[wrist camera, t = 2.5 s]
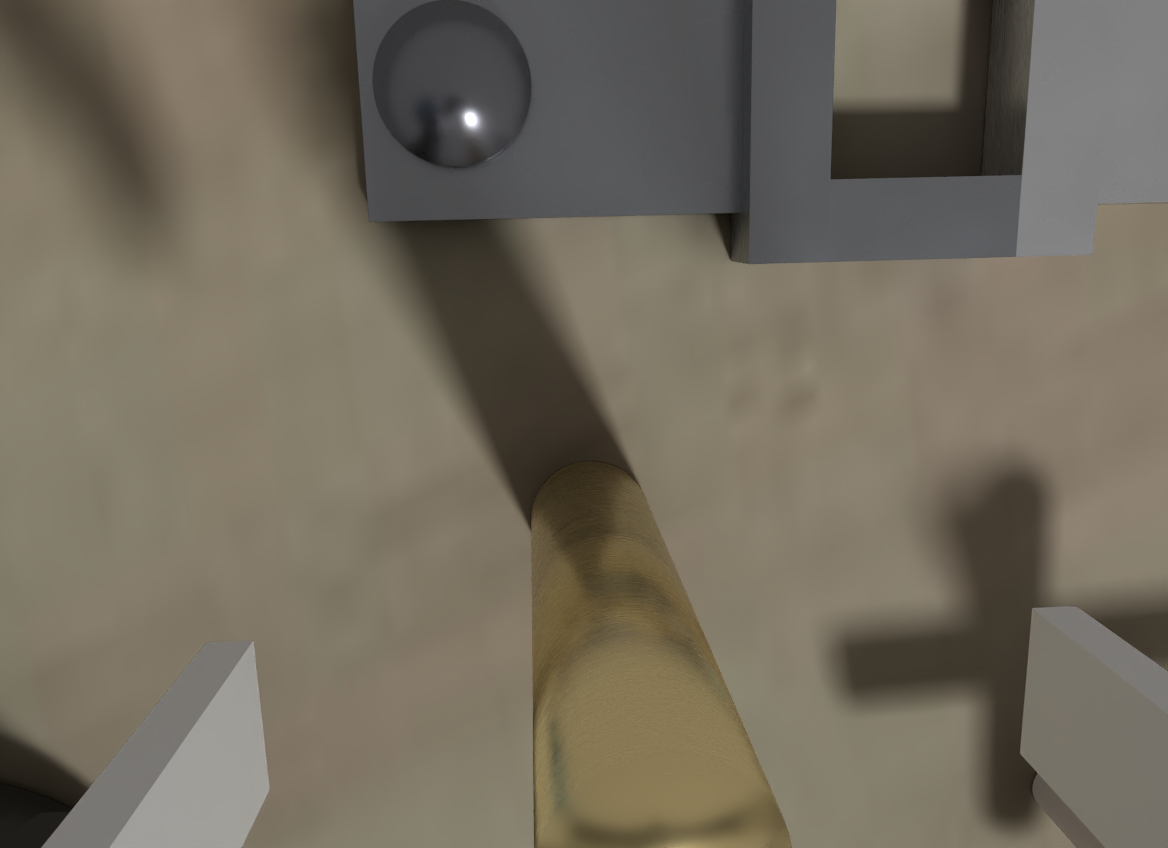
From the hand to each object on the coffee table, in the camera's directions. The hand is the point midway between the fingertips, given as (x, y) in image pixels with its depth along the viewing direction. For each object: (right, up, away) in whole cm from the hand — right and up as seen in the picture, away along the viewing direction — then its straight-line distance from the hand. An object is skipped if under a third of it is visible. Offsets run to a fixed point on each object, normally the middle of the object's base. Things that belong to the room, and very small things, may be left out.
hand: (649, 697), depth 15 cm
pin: (-1, +2, +10) cm, 10 cm away
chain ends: (+7, +13, +8) cm, 17 cm away
